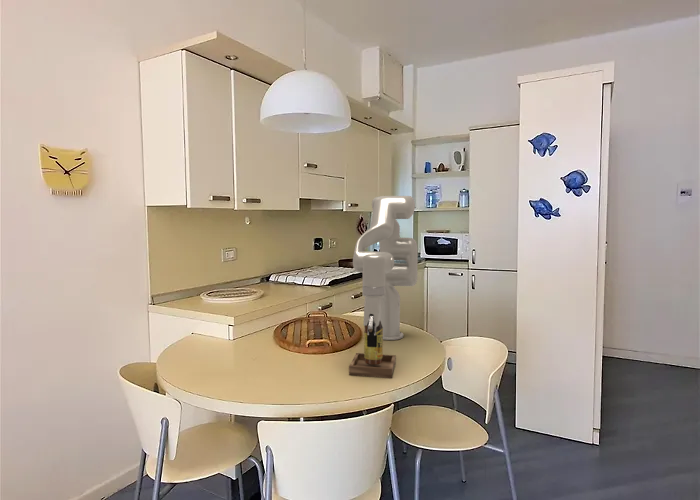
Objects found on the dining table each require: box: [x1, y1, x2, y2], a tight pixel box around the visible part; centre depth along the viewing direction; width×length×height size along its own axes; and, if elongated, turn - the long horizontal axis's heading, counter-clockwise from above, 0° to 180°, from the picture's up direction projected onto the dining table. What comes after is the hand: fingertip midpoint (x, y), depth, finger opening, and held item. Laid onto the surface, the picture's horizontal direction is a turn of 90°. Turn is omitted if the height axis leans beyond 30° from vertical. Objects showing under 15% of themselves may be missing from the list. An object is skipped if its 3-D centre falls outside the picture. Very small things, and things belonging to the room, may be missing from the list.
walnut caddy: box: [348, 352, 397, 379], centre depth 150 cm, size 14×14×3 cm
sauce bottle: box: [363, 321, 384, 365], centre depth 149 cm, size 6×6×20 cm
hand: (373, 343), depth 149 cm, fingers closed on sauce bottle, 6 cm apart
